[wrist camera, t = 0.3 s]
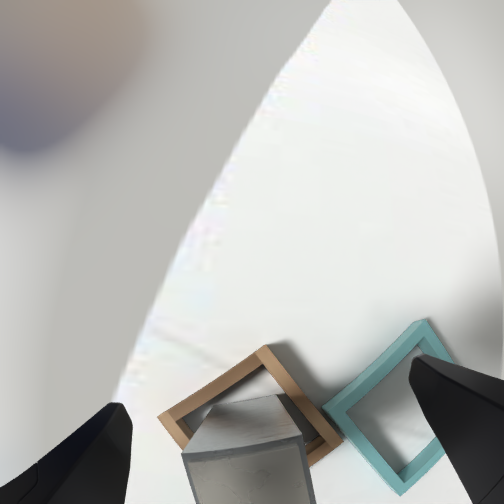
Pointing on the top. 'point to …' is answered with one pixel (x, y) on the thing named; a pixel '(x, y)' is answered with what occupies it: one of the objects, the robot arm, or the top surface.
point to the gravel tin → (248, 456)
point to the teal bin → (371, 377)
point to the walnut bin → (261, 356)
